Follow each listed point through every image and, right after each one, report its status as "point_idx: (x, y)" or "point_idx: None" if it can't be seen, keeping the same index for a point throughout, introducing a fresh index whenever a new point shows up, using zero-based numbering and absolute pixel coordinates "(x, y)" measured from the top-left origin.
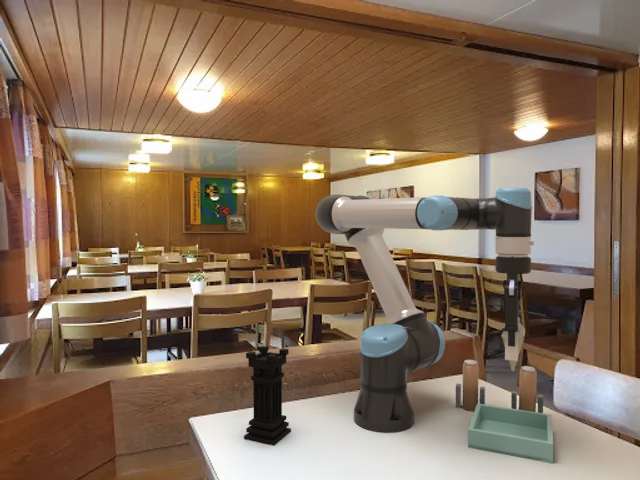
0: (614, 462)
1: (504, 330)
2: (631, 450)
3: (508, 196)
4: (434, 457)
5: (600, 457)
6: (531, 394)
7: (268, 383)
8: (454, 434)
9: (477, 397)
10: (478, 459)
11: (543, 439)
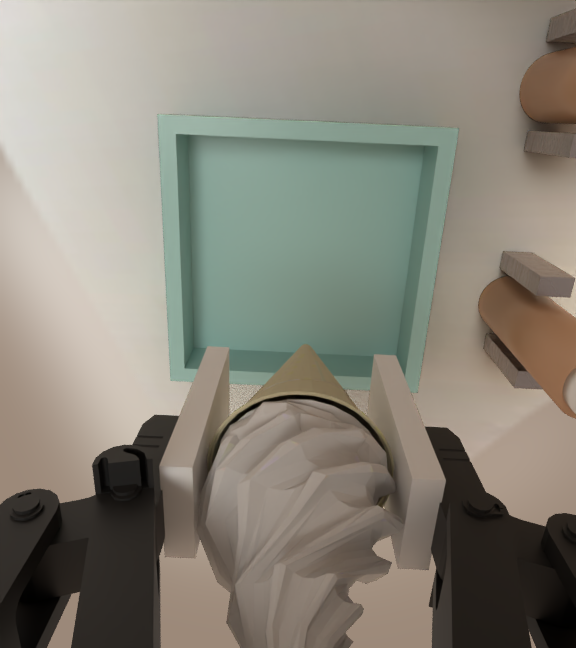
0: None
1: (107, 469)
2: None
3: None
4: (40, 3)
5: None
6: (514, 353)
7: None
8: (260, 51)
9: (561, 121)
10: (104, 156)
11: (312, 344)
